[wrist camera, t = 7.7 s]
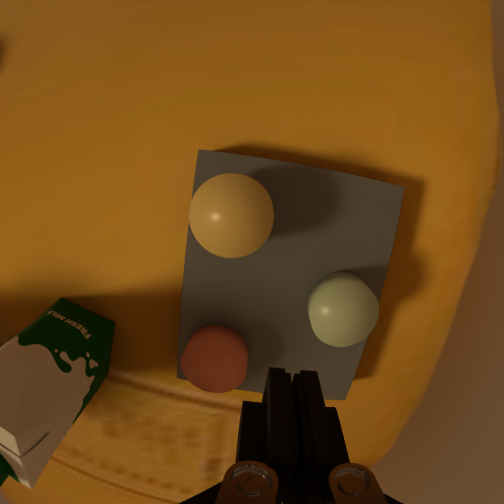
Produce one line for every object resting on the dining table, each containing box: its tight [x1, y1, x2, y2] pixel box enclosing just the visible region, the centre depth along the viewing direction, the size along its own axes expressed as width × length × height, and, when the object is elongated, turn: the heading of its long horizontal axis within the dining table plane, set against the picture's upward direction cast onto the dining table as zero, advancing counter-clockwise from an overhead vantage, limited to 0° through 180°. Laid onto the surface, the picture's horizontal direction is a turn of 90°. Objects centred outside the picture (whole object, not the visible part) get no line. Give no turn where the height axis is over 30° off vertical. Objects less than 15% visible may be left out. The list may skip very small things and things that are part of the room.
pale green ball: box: [307, 272, 379, 347], centre depth 25 cm, size 5×5×5 cm
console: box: [177, 150, 405, 400], centre depth 26 cm, size 20×16×3 cm
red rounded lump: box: [181, 325, 248, 393], centre depth 26 cm, size 5×5×5 cm
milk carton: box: [0, 297, 115, 489], centre depth 21 cm, size 9×9×20 cm
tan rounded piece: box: [189, 173, 274, 258], centre depth 22 cm, size 5×5×5 cm
